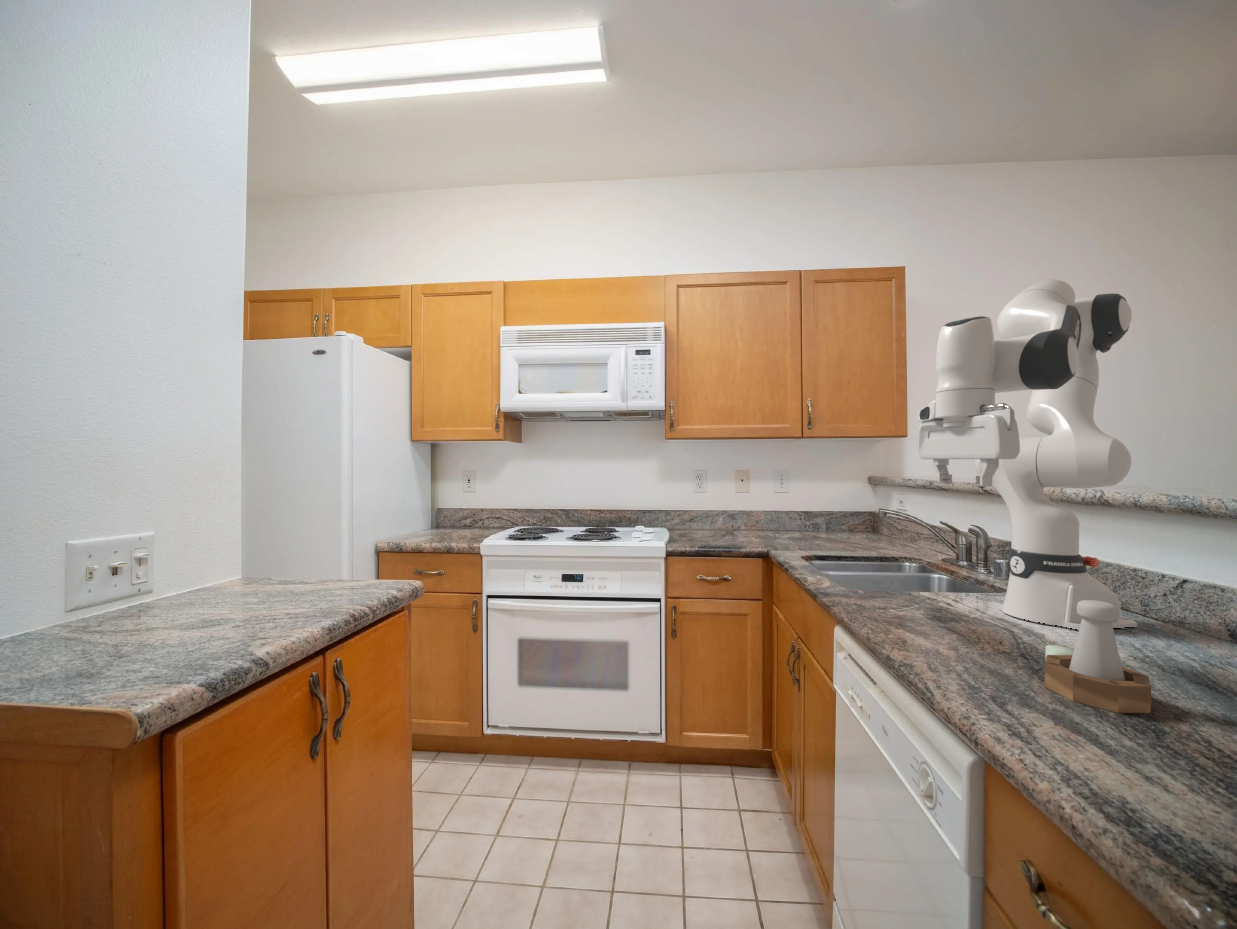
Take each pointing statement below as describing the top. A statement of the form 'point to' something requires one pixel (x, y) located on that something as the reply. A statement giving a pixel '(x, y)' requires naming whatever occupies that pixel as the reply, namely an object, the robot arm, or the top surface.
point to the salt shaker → (1097, 642)
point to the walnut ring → (1098, 687)
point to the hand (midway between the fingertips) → (963, 485)
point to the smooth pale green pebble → (1058, 650)
